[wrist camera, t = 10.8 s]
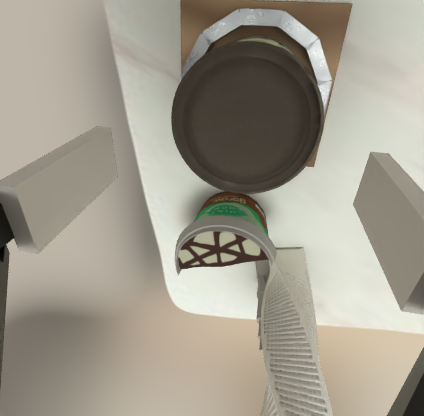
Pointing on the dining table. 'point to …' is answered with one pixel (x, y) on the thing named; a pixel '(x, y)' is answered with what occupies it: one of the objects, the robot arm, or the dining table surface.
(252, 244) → the food container
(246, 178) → the coffee can
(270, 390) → the skyscraper
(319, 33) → the board
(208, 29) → the collar
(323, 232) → the dining table surface
